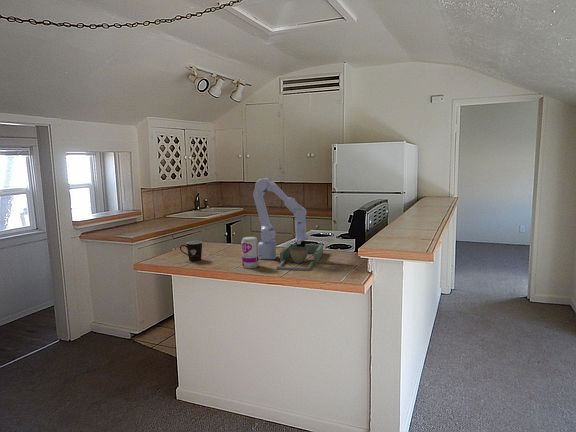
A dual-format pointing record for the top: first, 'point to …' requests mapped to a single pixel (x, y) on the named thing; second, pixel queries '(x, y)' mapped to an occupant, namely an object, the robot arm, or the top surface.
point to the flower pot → (298, 254)
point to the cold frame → (312, 249)
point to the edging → (294, 267)
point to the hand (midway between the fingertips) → (301, 254)
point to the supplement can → (249, 252)
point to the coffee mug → (193, 250)
